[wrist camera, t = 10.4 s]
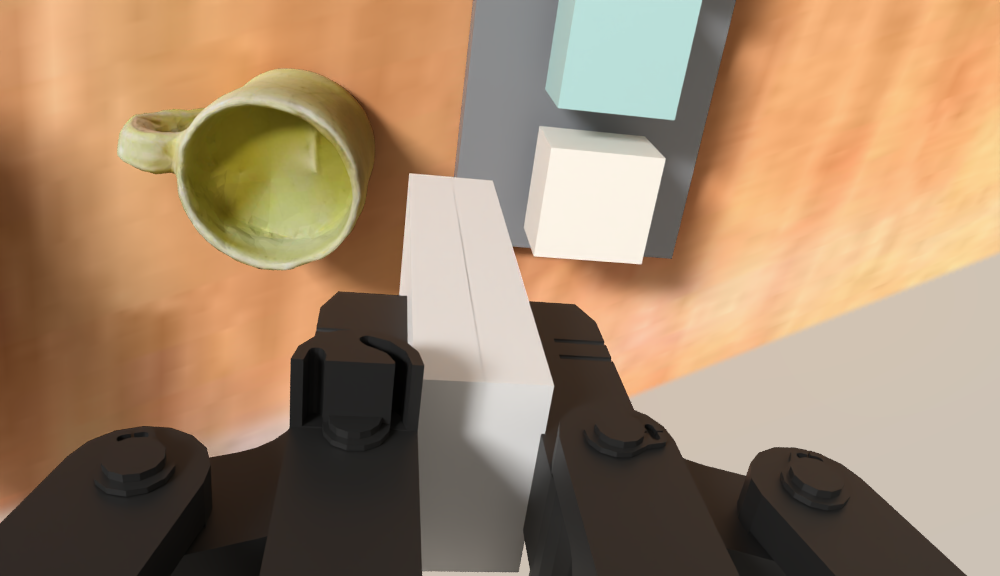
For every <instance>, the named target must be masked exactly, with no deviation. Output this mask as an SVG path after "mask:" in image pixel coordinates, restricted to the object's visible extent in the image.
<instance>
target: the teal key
mask: <svg viewBox="0 0 1000 576" xmlns="http://www.w3.org/2000/svg"><path fill="white" fill-rule="evenodd" d="M701 3H702V0H559V2H558V9H557V15H556V22H555V28H554V34H553V41H552V47H551V54H550V60H549V67H548V73H547V80H546V86H545V90H546V91H547V93H548V94H549V96H550V97H551V99H552V100H553V102H554V103H555V105H556V106H557V108H562V109H571V110H581V111H590V112H600V113H609V114H619V115H629V116H638V117H648V118H657V119H667V120H675V116H676V112H677V108H678V103H679V99H680V95H681V90H682V86H683V82H684V77H685V73H686V69H687V64H688V60H689V56H690V51H691V47H692V43H693V38H694V34H695V29H696V25H697V21H698V16H699V12H700V8H701Z"/></svg>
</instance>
